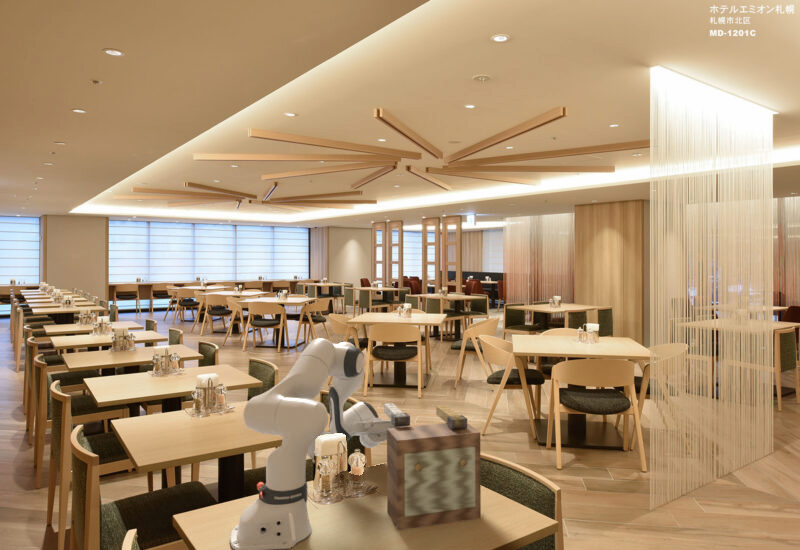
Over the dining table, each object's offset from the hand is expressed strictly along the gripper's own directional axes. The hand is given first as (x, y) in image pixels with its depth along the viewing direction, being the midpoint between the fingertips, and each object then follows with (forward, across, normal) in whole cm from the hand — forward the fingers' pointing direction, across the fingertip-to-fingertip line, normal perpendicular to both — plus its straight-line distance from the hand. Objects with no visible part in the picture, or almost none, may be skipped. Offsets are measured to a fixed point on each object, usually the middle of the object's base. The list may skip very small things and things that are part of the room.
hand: (384, 422), depth 188 cm
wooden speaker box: (+16, +9, +32) cm, 37 cm away
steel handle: (+15, 0, +2) cm, 15 cm away
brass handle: (+22, +16, +5) cm, 28 cm away
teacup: (-35, -21, +6) cm, 41 cm away
